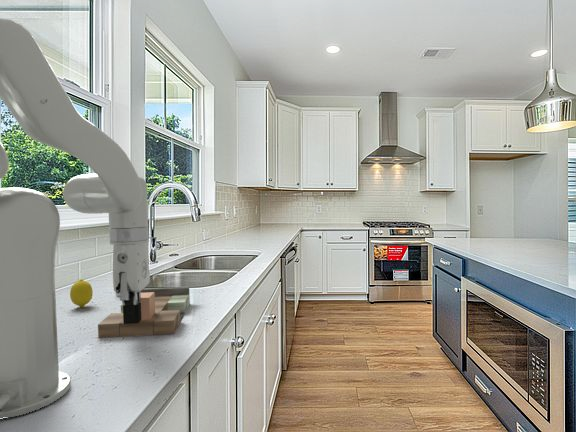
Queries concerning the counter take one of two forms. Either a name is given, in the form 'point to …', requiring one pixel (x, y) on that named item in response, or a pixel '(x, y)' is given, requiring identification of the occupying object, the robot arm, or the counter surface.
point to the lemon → (81, 293)
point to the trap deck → (162, 322)
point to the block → (147, 305)
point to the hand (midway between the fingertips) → (132, 322)
